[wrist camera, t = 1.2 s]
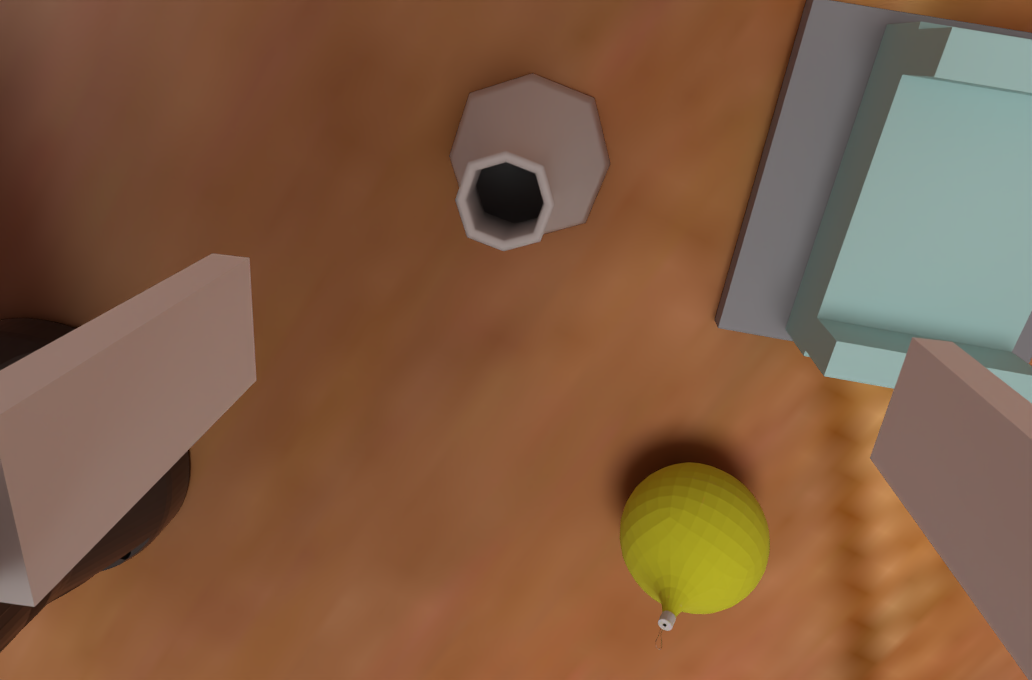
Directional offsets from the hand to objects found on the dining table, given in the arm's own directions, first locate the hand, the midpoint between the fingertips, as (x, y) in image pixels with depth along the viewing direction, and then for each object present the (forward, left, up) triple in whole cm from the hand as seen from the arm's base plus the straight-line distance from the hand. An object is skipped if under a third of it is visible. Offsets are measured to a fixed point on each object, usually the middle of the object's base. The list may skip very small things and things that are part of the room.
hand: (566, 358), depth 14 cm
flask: (-2, +1, -19) cm, 20 cm away
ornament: (+9, -15, -19) cm, 26 cm away
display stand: (+15, +2, -19) cm, 24 cm away
